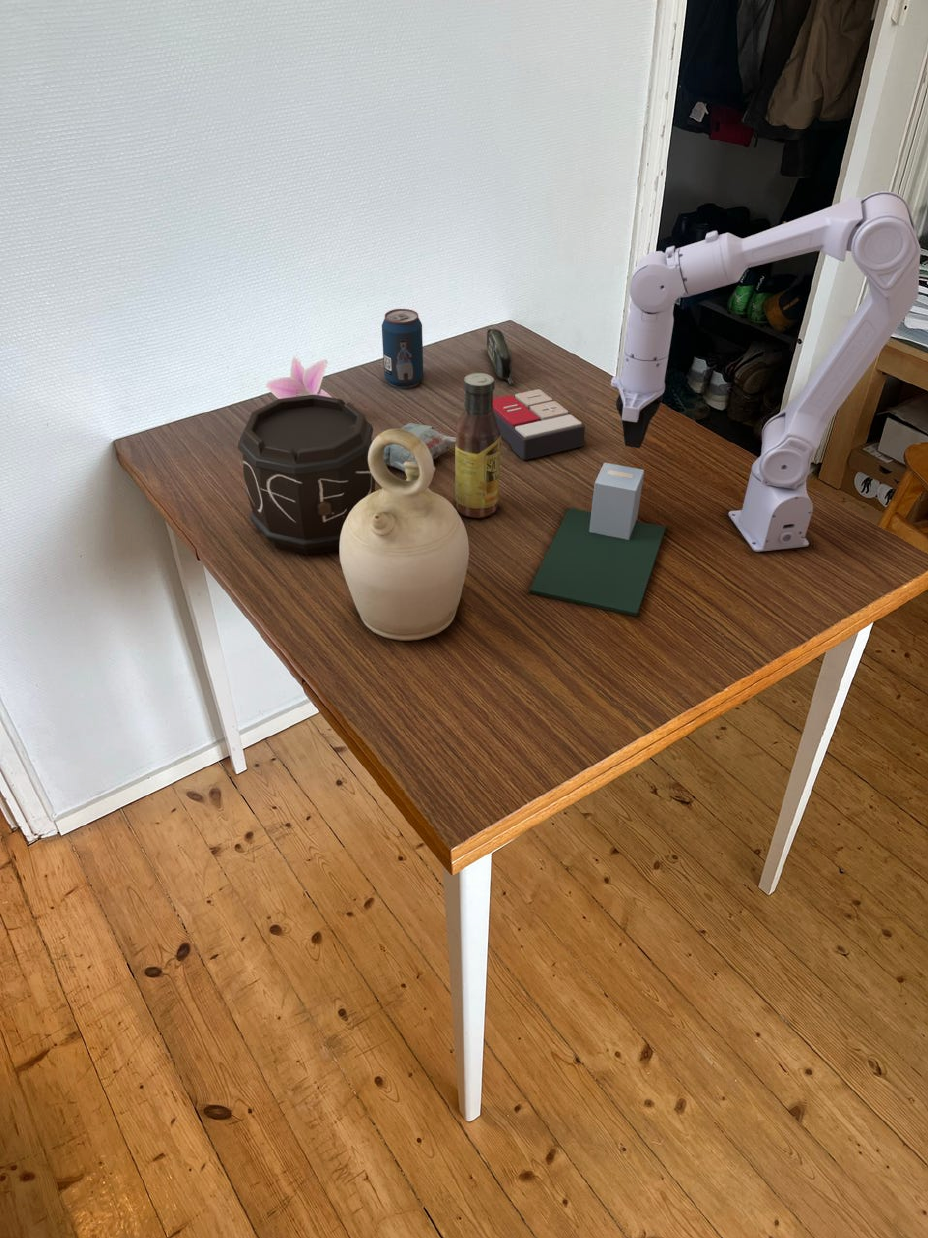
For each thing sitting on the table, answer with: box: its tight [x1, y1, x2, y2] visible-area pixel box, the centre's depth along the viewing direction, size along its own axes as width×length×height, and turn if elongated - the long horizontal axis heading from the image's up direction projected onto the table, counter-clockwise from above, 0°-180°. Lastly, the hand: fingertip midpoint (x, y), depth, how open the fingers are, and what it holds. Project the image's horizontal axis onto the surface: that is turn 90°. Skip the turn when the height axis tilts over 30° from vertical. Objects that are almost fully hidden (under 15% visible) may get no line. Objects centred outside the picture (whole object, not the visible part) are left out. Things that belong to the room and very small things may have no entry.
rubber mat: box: [528, 507, 667, 617], centre depth 124 cm, size 20×14×1 cm
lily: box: [265, 356, 333, 400], centre depth 152 cm, size 12×12×10 cm
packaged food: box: [383, 422, 456, 473], centre depth 141 cm, size 9×12×5 cm
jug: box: [339, 428, 470, 642], centre depth 108 cm, size 15×16×25 cm
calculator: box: [493, 389, 586, 461], centre depth 149 cm, size 11×4×15 cm
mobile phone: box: [486, 328, 514, 386], centre depth 167 cm, size 5×3×15 cm
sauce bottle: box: [454, 372, 502, 519], centre depth 127 cm, size 6×6×20 cm
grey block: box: [589, 462, 645, 540], centre depth 127 cm, size 8×6×6 cm
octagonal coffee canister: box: [237, 395, 376, 556], centre depth 125 cm, size 18×18×16 cm
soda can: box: [381, 308, 424, 389], centre depth 160 cm, size 7×7×12 cm
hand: (633, 444), depth 128 cm, fingers closed
